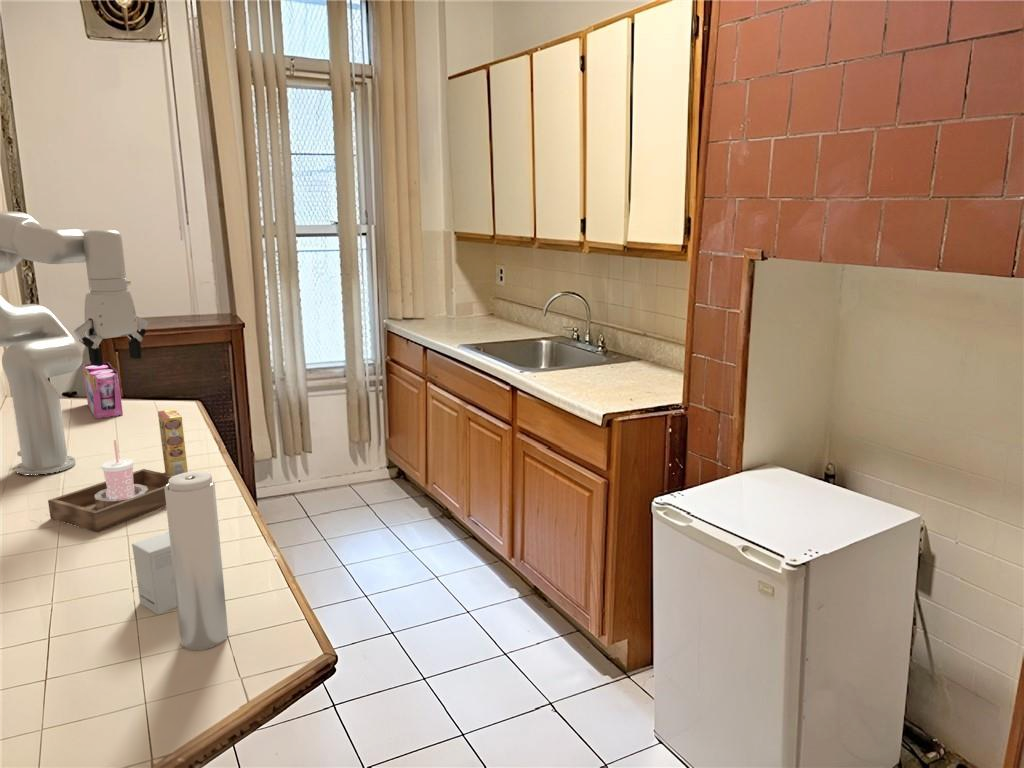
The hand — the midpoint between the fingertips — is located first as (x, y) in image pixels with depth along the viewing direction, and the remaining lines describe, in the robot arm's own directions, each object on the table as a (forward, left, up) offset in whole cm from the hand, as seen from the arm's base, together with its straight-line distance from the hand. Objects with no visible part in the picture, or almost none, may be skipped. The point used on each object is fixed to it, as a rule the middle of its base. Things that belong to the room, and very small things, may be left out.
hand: (116, 361), depth 170 cm
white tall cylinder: (+71, -40, -28) cm, 86 cm away
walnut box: (+14, -12, -28) cm, 34 cm away
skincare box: (+57, -33, -29) cm, 72 cm away
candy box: (+7, +7, -28) cm, 30 cm away
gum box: (-66, +40, -29) cm, 83 cm away
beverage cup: (+14, -12, -28) cm, 33 cm away
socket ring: (+14, -12, -28) cm, 34 cm away
